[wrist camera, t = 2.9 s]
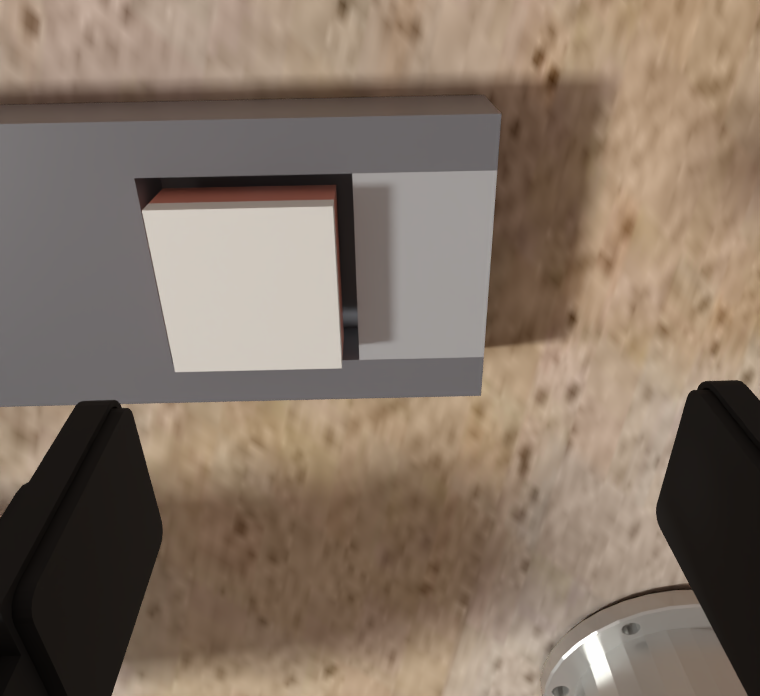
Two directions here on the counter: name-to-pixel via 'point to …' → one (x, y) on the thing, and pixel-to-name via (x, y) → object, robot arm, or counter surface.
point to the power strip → (244, 169)
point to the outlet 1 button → (248, 276)
